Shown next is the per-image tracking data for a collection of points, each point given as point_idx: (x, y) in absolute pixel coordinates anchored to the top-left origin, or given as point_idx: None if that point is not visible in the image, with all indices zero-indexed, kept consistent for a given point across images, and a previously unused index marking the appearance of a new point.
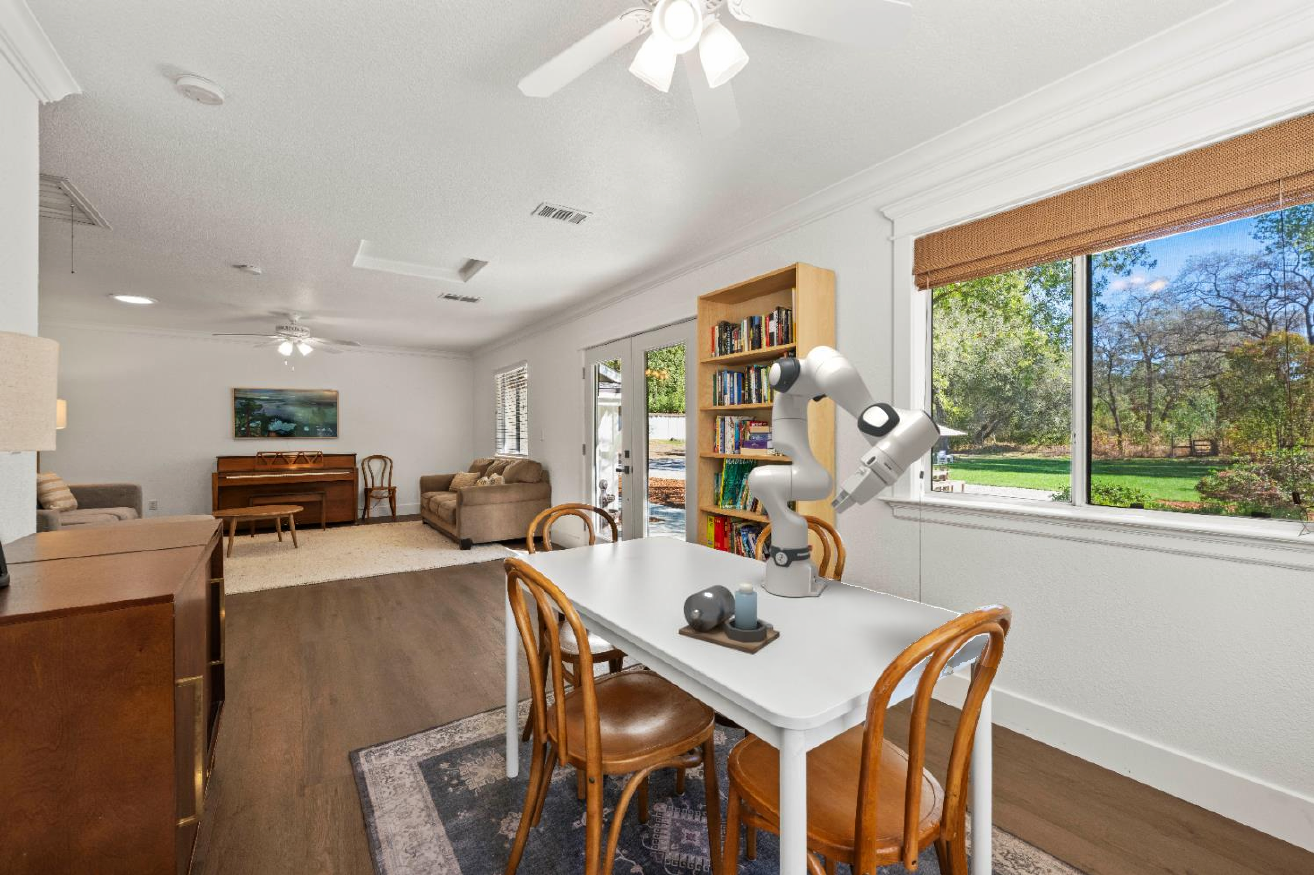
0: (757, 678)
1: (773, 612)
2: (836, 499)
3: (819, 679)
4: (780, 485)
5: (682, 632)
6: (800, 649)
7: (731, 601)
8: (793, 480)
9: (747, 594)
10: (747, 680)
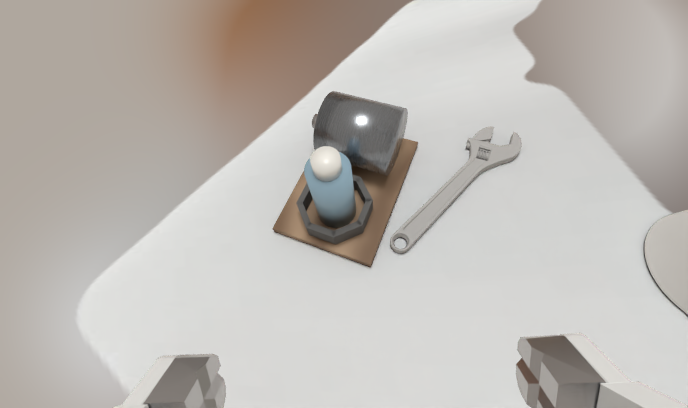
0: (188, 248)
1: (508, 245)
2: (596, 396)
3: (189, 342)
4: None
5: None
6: (312, 308)
7: (374, 157)
8: None
9: (313, 173)
10: (181, 236)
